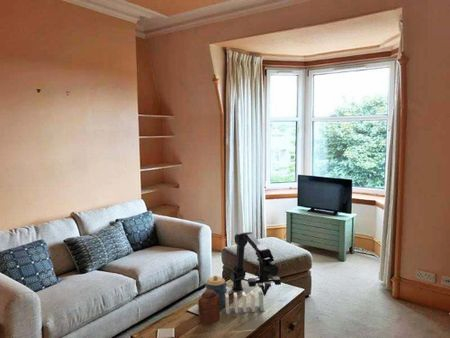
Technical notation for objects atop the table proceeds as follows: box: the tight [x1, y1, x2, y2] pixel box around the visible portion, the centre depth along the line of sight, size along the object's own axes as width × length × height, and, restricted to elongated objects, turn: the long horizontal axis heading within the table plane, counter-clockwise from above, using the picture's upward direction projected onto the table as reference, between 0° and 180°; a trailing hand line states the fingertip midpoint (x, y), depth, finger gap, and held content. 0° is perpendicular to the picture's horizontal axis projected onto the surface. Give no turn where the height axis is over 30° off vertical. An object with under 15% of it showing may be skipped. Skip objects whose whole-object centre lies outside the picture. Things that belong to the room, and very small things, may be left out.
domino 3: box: [241, 291, 247, 312], centre depth 200 cm, size 5×2×10 cm, turn 6°
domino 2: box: [233, 291, 239, 313], centre depth 200 cm, size 5×2×10 cm, turn 6°
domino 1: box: [224, 292, 230, 314], centre depth 199 cm, size 5×2×10 cm, turn 6°
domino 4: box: [249, 290, 256, 312], centre depth 201 cm, size 5×2×10 cm, turn 6°
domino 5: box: [258, 290, 265, 311], centre depth 201 cm, size 5×2×10 cm, turn 6°
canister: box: [204, 275, 228, 308], centre depth 210 cm, size 13×13×18 cm
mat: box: [221, 305, 266, 316], centre depth 201 cm, size 7×24×1 cm, turn 96°
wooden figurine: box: [197, 289, 221, 326], centre depth 189 cm, size 12×6×18 cm, turn 125°
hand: (264, 295), depth 201 cm, fingers closed
